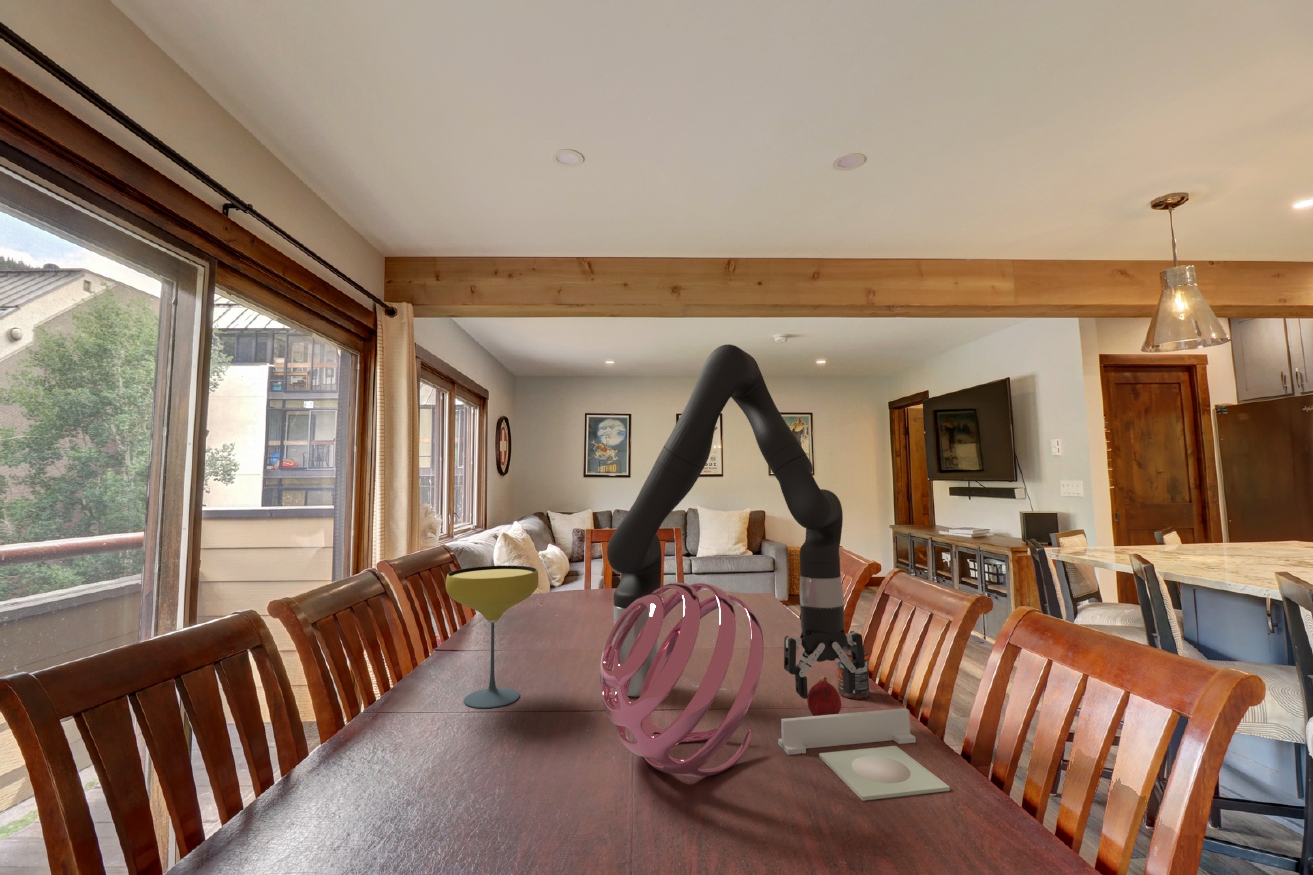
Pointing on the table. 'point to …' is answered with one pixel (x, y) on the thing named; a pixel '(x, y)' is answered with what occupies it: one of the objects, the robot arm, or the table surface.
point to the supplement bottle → (860, 677)
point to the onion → (823, 699)
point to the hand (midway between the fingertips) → (825, 694)
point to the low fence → (845, 729)
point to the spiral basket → (668, 671)
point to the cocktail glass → (492, 612)
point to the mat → (882, 773)
